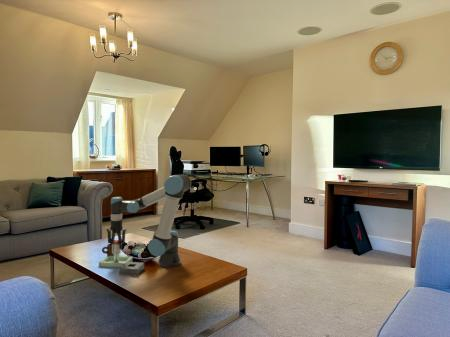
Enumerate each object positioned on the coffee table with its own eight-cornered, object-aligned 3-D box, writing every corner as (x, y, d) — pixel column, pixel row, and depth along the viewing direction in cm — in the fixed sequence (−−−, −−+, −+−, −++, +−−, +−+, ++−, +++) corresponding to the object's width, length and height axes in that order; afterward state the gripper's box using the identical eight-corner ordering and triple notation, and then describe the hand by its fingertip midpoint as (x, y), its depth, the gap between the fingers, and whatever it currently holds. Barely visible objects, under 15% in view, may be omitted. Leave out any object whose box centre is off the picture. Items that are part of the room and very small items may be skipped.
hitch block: (144, 268, 204) (144, 262, 204) (137, 275, 192) (137, 269, 192) (126, 267, 206) (126, 261, 205) (118, 274, 194) (118, 268, 193)
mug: (104, 261, 217) (104, 248, 217) (99, 258, 222) (99, 245, 222) (120, 257, 226) (120, 244, 226) (114, 254, 231) (114, 242, 231)
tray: (132, 261, 219) (132, 256, 218) (124, 268, 205) (124, 263, 205) (108, 259, 220) (108, 255, 220) (98, 266, 206) (98, 262, 206)
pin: (120, 261, 214) (120, 239, 214) (117, 263, 210) (118, 241, 209) (114, 261, 215) (114, 239, 214) (111, 263, 210) (111, 241, 210)
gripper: (130, 219, 214) (130, 252, 215) (107, 218, 216) (107, 251, 217) (125, 221, 207) (125, 255, 208) (102, 220, 208) (102, 254, 209)
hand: (116, 253), depth 212 cm, fingers closed on pin, 3 cm apart
